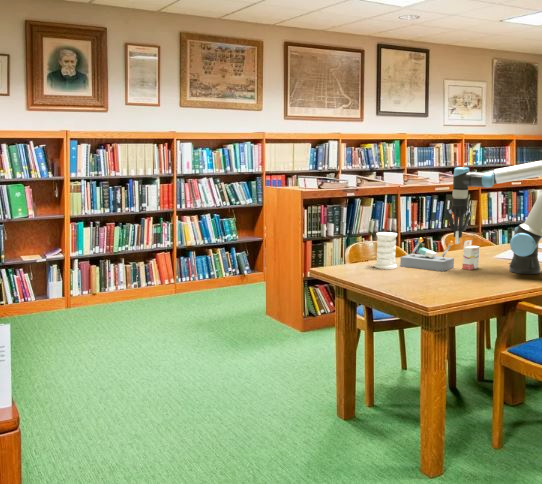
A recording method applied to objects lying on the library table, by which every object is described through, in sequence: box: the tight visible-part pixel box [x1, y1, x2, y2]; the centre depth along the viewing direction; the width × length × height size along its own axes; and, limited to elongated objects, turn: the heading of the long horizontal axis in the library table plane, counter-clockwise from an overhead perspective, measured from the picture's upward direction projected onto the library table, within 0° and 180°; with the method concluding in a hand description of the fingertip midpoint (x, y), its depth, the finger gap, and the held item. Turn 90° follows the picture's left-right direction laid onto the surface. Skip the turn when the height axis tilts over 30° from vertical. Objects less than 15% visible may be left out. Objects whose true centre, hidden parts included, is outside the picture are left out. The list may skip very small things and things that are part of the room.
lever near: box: [441, 240, 455, 257], centre depth 334 cm, size 3×3×10 cm
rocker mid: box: [417, 247, 438, 258], centre depth 342 cm, size 8×5×2 cm, turn 54°
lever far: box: [411, 237, 424, 254], centre depth 345 cm, size 3×3×10 cm
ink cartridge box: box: [462, 239, 480, 271], centre depth 337 cm, size 9×5×15 cm, turn 134°
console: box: [399, 253, 455, 272], centre depth 342 cm, size 24×14×6 cm, turn 53°
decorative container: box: [374, 231, 398, 270], centre depth 341 cm, size 12×12×18 cm
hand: (457, 243), depth 331 cm, fingers closed
